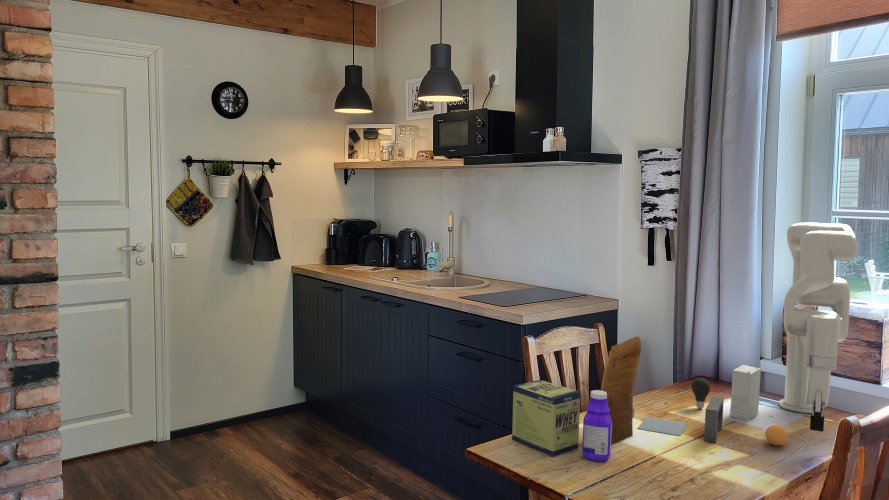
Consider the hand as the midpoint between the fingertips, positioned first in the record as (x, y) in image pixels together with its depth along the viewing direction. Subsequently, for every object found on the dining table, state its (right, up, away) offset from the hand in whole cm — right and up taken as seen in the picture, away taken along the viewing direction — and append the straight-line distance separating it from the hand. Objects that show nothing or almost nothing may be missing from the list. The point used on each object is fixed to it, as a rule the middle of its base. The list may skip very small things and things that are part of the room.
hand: (816, 429), depth 186 cm
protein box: (-71, -5, +4) cm, 72 cm away
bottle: (-60, -6, -5) cm, 60 cm away
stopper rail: (-44, -4, +25) cm, 50 cm away
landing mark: (-35, -4, +20) cm, 40 cm away
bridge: (-22, -5, +13) cm, 26 cm away
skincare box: (-6, -4, +31) cm, 31 cm away
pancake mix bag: (-51, -5, +9) cm, 52 cm away
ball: (-8, -3, +5) cm, 10 cm away
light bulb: (-18, -3, +37) cm, 41 cm away
